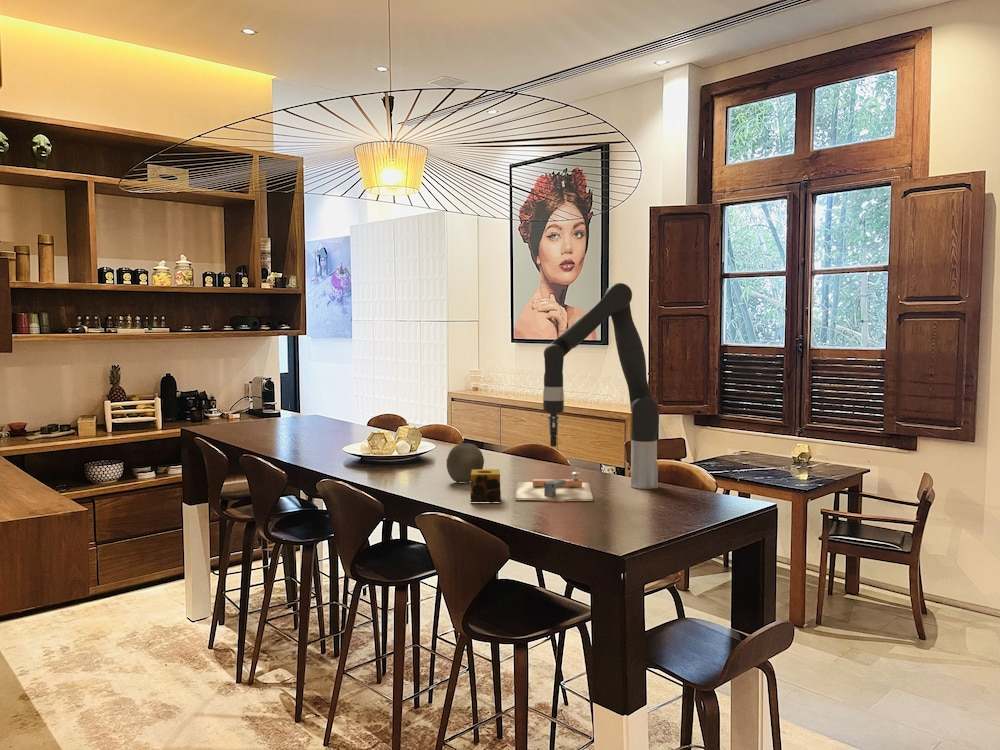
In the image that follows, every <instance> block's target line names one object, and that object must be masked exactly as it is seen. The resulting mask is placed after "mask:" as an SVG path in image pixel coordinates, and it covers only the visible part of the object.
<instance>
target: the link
mask: <svg viewBox="0 0 1000 750" xmlns="http://www.w3.org/2000/svg"><path fill="white" fill-rule="evenodd" d="M554 479H555V478H553V479H552V478H546V479H545V478H533V479H532V482H533V486H544V482H548V481H551V480H554ZM559 479H560V480H566V484H565V485H562V486H571V487H581V486H582V483H583V479H581V478H579V480H573V478H571V479H568V478H566V479H565V478H559Z"/></svg>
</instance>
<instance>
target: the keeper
mask: <svg viewBox="0 0 1000 750" xmlns="http://www.w3.org/2000/svg"><path fill="white" fill-rule="evenodd" d="M553 479H554V480H551V481H548V482H544V496H547V497H554V496H556V488H557V487H559V486H562V485H565V484H566V480H560V479H561V478H559V479H558V478H553Z"/></svg>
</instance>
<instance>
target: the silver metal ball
mask: <svg viewBox="0 0 1000 750" xmlns="http://www.w3.org/2000/svg"><path fill="white" fill-rule="evenodd" d="M570 475H572V479H573V480H579V479H580V478H579V477H580V475H582V474H581V472H579V471H572V472H570Z"/></svg>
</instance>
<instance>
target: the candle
mask: <svg viewBox="0 0 1000 750" xmlns="http://www.w3.org/2000/svg"><path fill="white" fill-rule="evenodd" d="M501 493H502V490H501V474H500V469H498V468H495V469H492V468H489V469H487V468H485V469H484V468H483V469H477V470H471V482H470V502H502V497H501V495H502V494H501Z"/></svg>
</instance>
